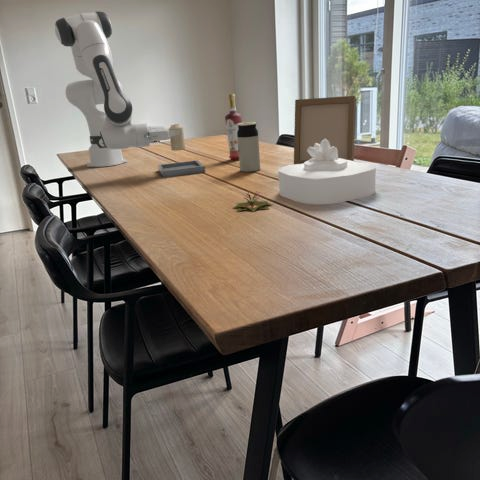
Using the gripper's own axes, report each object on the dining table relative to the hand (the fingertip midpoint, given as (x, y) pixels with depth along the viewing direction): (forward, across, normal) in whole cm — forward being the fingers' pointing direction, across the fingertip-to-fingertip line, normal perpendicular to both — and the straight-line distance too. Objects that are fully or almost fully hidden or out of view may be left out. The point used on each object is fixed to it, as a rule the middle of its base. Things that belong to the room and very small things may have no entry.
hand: (178, 131), depth 186 cm
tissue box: (+34, -64, +17) cm, 74 cm away
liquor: (+26, +13, +16) cm, 33 cm away
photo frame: (+52, -25, +16) cm, 60 cm away
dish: (-1, 0, +16) cm, 16 cm away
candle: (-1, 0, +7) cm, 7 cm away
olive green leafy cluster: (+10, -69, +17) cm, 71 cm away
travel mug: (+24, -16, +16) cm, 33 cm away
